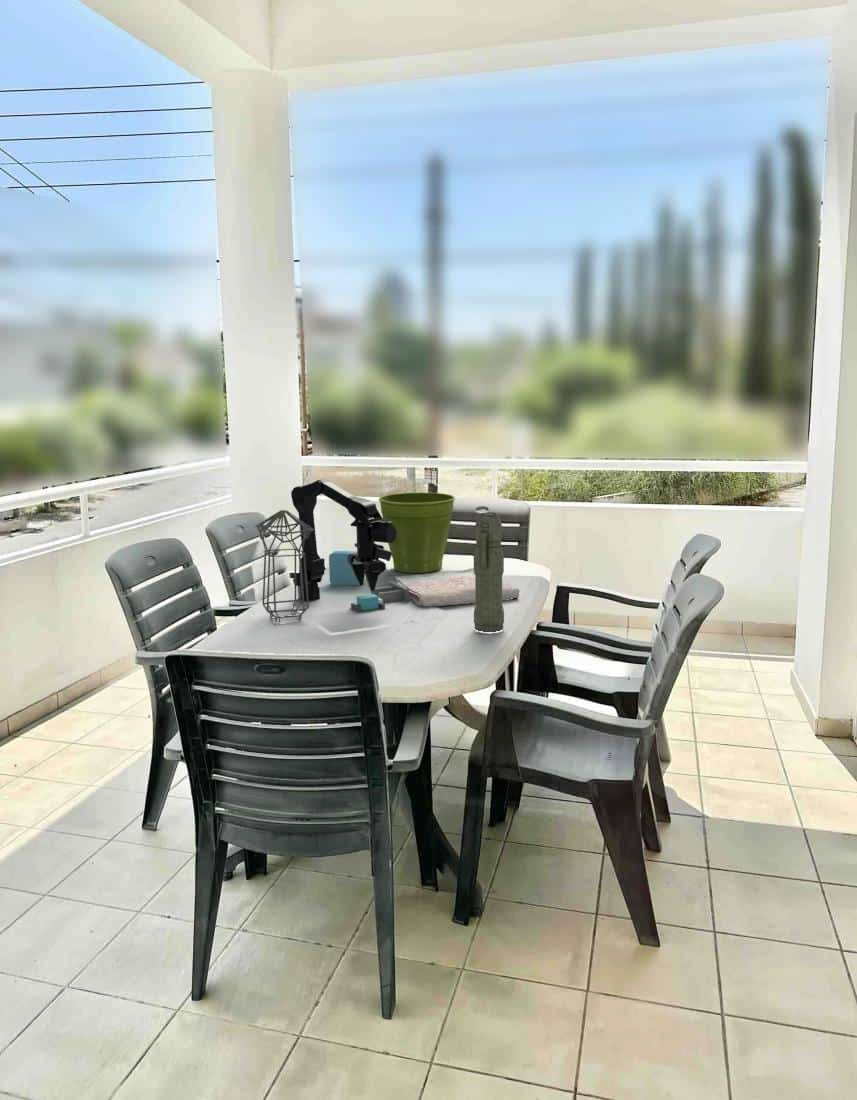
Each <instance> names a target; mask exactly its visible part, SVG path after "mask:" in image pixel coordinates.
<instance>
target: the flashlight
mask: <svg viewBox="0 0 857 1100" xmlns="http://www.w3.org/2000/svg"><path fill="white" fill-rule="evenodd" d="M475 521H476V522H475V524H474V525H475V527H474V528H475V532H474V533H475V541H476V544H475V549H474V553H473V568H474V574H475V602H476V603H475V607H474V610H473V623H474V628H475V629H476V630H478V631H483V632H496V631H500V630H502V629H503V628H504V623H505V610H504V607H503V600H502V581H503V574H504V572H505V567H504V566H505V564H504V562H505V561H504V560H505V556H504V555H505V554H504V551H503V549H502V547H503V546H502V538H503V537H502V536H503V534H502V533H503V532H502V530H503V529H502V527H503V525H502V520H501V518H500V514H498V513H496V512H481V513H479V514H478V515H477V518H476V520H475Z"/></svg>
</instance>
